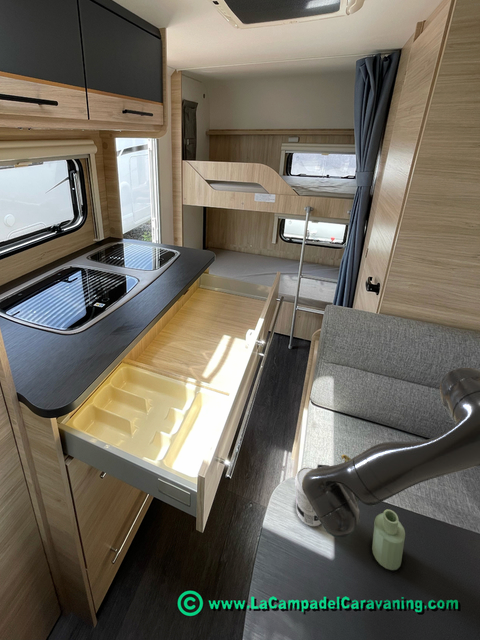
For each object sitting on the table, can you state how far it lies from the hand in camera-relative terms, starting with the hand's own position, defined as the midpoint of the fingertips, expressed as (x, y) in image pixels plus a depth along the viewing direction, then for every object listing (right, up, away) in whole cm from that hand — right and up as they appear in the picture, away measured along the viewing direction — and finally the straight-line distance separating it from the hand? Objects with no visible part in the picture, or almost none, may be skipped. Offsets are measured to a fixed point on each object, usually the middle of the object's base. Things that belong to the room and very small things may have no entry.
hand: (349, 477), depth 86 cm
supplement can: (-6, -19, +12) cm, 23 cm away
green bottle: (+10, -21, 0) cm, 23 cm away
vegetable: (0, -10, +2) cm, 10 cm away
